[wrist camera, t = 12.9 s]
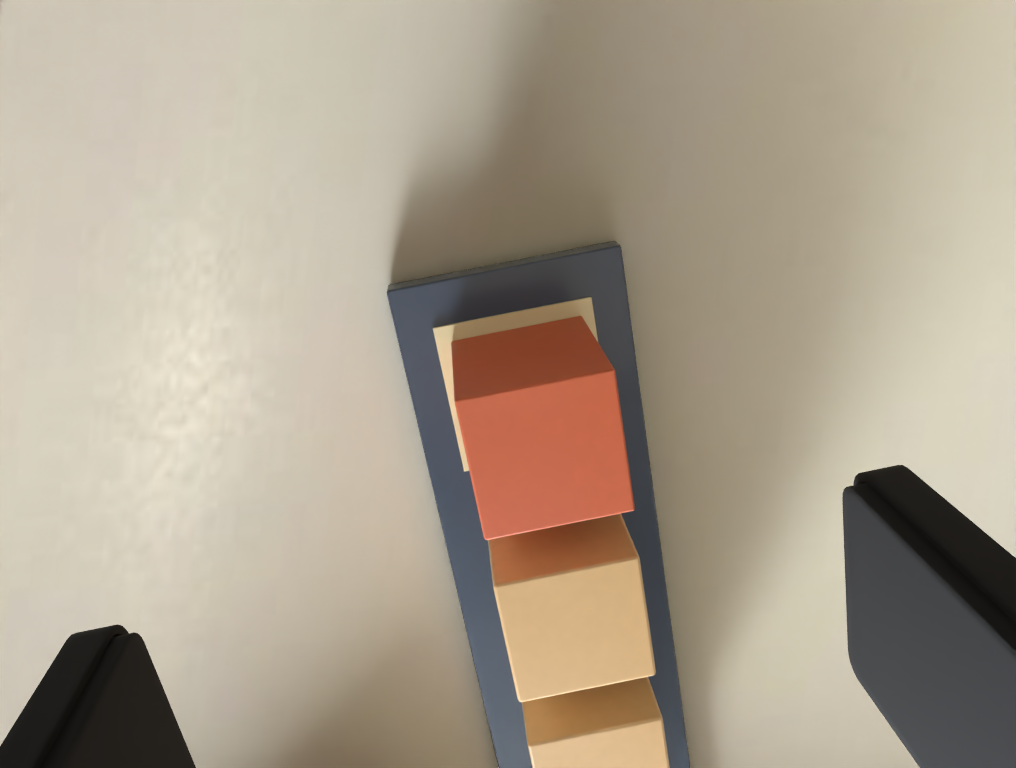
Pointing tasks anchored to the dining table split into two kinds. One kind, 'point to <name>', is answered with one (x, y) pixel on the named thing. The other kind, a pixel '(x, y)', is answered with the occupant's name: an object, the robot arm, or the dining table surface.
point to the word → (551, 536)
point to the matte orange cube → (541, 427)
